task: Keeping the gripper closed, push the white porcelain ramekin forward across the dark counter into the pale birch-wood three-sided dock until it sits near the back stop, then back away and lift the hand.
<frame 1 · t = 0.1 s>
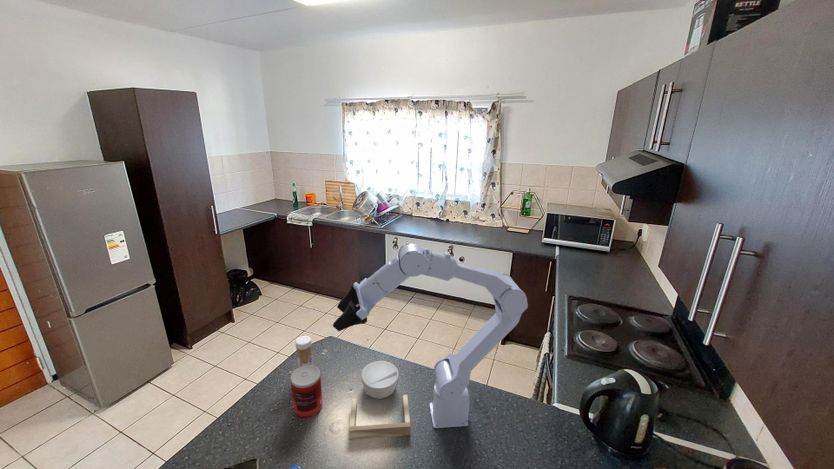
hand: (338, 318, 75), 32 cm above the countertop, tool tilted 50°, fingers open, 7 cm apart
canned food: (308, 407, 90), on the countertop
ramekin: (380, 388, 98), on the countertop
sprinkles bottle: (306, 376, 101), on the countertop
birch dock: (380, 418, 87), on the countertop
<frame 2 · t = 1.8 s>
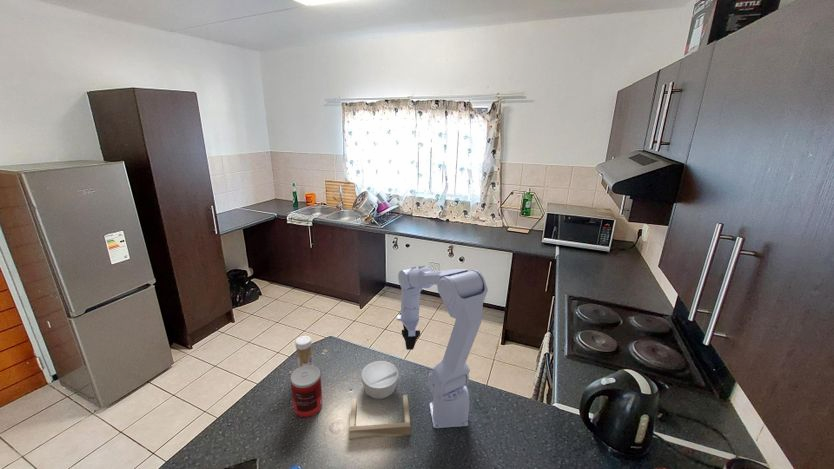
hand: (408, 340, 103), 10 cm above the countertop, tool pointing down, fingers open, 7 cm apart
nothing on the countertop moved.
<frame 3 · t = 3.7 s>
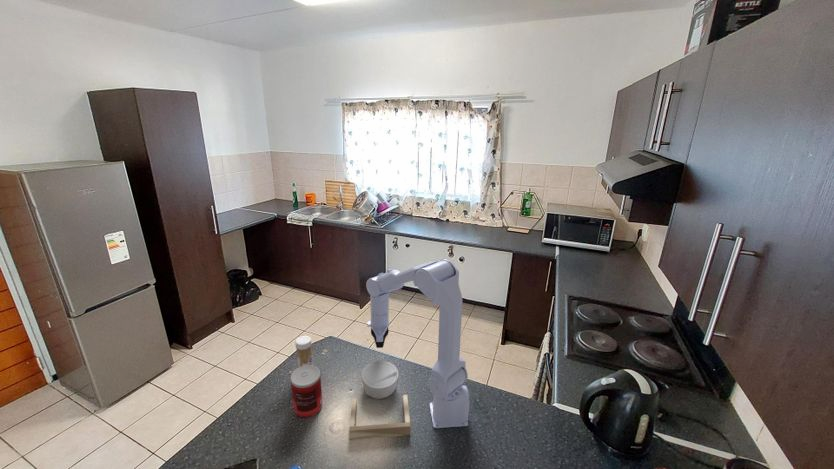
hand: (379, 346, 106), 6 cm above the countertop, tool pointing down, fingers closed
nothing on the countertop moved.
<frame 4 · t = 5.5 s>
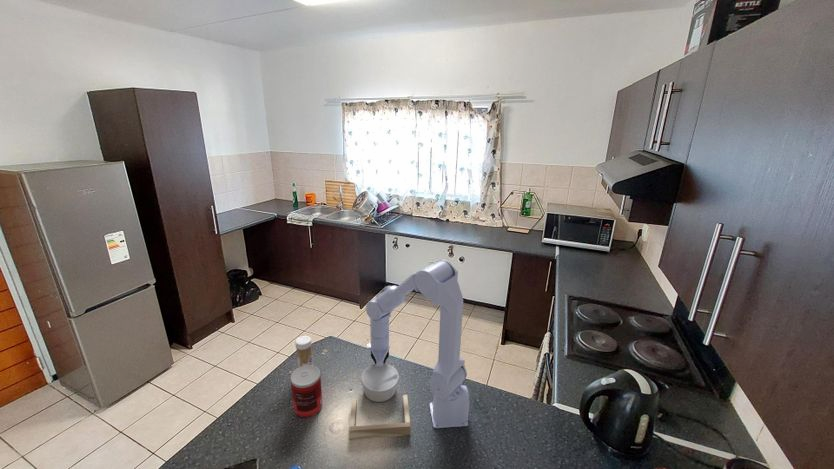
hand: (380, 369, 103), 1 cm above the countertop, tool pointing down, fingers closed
ramekin: (380, 390, 96), on the countertop, touching gripper
everything else where it was.
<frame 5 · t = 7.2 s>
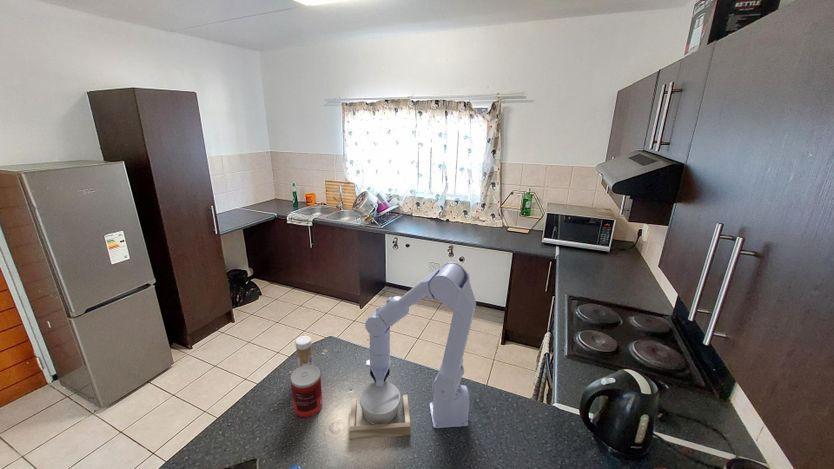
hand: (380, 387, 96), 1 cm above the countertop, tool pointing down, fingers closed
ramekin: (380, 411, 89), on the countertop, touching gripper
everything else where it was.
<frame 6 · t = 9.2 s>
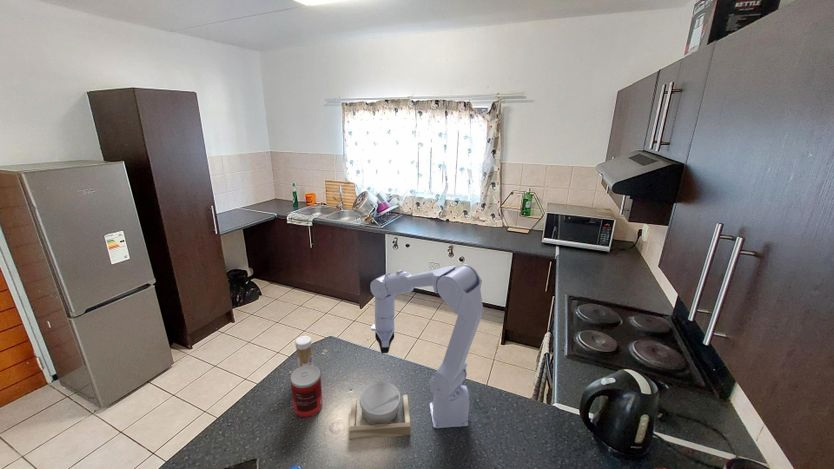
hand: (384, 351, 99), 9 cm above the countertop, tool pointing down, fingers closed
ramekin: (380, 412, 89), on the countertop
everything else where it was.
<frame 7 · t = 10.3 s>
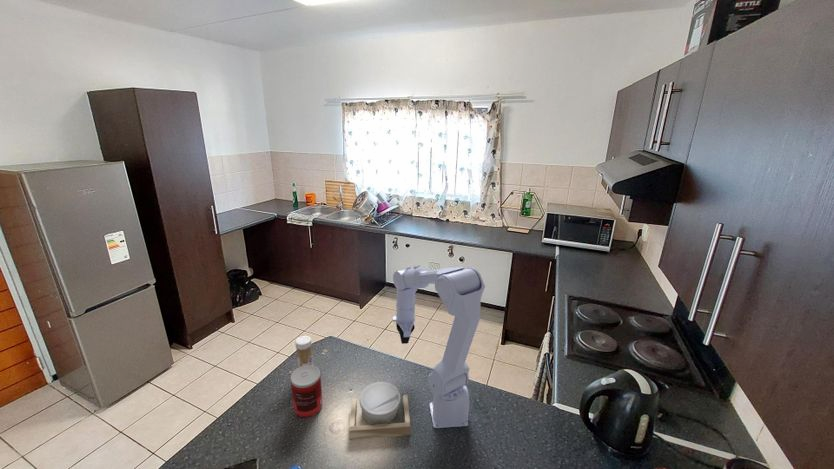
hand: (404, 342, 103), 9 cm above the countertop, tool pointing down, fingers closed
nothing on the countertop moved.
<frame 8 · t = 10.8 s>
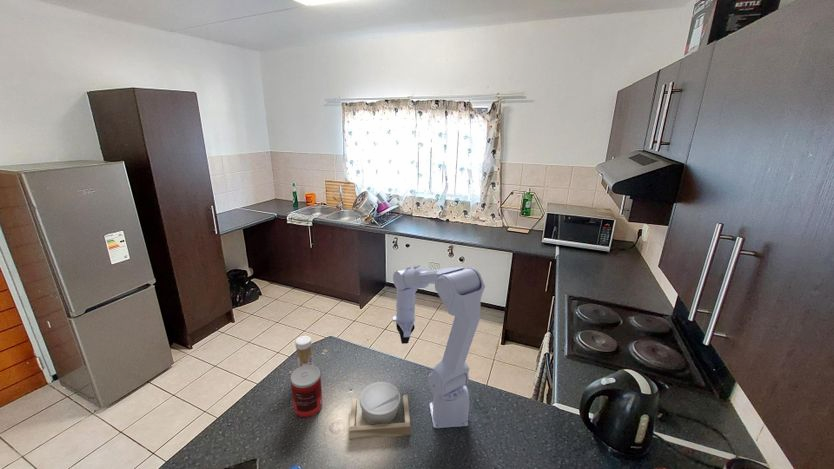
hand: (404, 342, 103), 9 cm above the countertop, tool pointing down, fingers closed
nothing on the countertop moved.
at the end: ramekin 1.2 cm from the target spot, on the countertop; ramekin moved 8.8 cm from its start; ramekin tilted 0° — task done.
